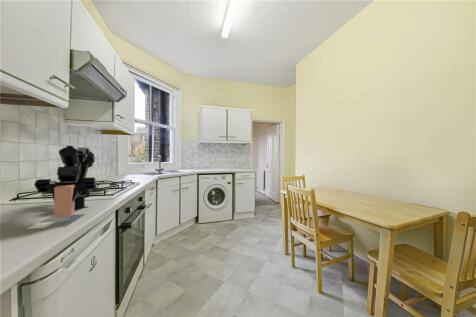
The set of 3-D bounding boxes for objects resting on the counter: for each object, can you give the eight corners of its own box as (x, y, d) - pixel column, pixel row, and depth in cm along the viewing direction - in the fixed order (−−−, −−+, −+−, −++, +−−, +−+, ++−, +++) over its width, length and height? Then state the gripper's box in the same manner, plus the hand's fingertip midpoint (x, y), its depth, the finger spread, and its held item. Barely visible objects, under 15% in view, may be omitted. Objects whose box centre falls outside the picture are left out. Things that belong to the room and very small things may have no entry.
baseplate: (52, 217, 80) (52, 215, 80) (85, 215, 84) (85, 213, 84) (24, 231, 66) (24, 229, 66) (66, 228, 70) (66, 226, 70)
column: (58, 214, 75) (58, 185, 74) (74, 212, 77) (74, 184, 77) (54, 218, 70) (54, 187, 70) (71, 216, 73) (71, 186, 73)
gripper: (36, 159, 72) (22, 192, 63) (95, 159, 81) (90, 188, 72) (44, 176, 79) (32, 208, 70) (97, 174, 88) (94, 202, 79)
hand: (63, 201), depth 73 cm, fingers closed on column, 5 cm apart
